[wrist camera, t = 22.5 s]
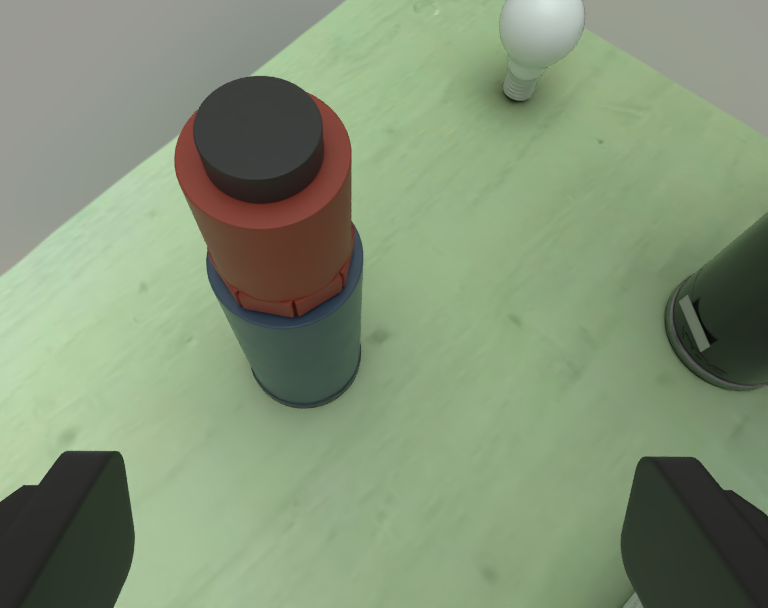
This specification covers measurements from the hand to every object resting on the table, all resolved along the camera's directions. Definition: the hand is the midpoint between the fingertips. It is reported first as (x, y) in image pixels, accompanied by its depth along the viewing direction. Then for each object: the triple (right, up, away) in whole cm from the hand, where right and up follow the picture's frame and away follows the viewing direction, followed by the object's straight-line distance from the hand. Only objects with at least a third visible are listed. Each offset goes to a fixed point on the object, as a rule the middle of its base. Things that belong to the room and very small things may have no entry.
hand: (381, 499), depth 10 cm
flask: (-6, -1, +35) cm, 35 cm away
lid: (-5, +5, +20) cm, 22 cm away
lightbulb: (+12, +21, +45) cm, 51 cm away
